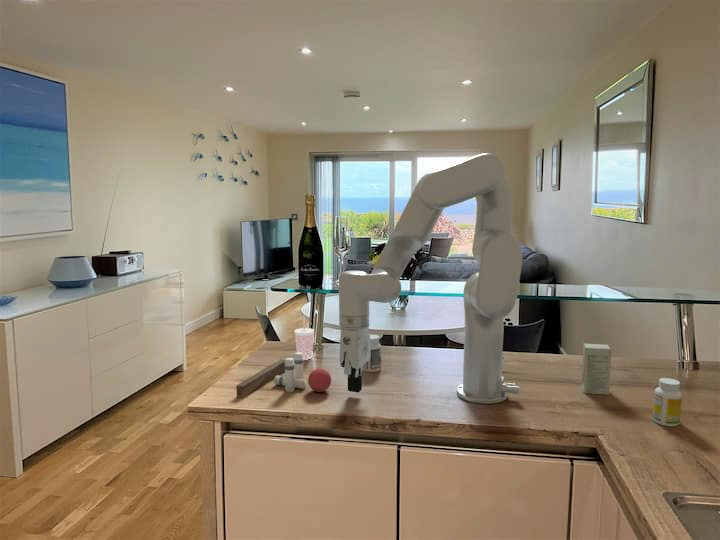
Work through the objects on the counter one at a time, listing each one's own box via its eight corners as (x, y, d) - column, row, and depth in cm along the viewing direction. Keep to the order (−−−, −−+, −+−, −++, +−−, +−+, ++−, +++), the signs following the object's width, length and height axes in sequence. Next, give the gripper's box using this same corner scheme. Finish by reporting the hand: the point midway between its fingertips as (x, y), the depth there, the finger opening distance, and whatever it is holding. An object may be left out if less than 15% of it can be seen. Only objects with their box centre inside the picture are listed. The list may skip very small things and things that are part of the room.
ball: (310, 374, 139) (325, 391, 138) (299, 382, 133) (315, 400, 132) (323, 360, 136) (339, 377, 136) (313, 368, 131) (329, 386, 130)
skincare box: (606, 389, 135) (609, 344, 134) (609, 395, 131) (612, 349, 129) (580, 386, 137) (582, 342, 135) (582, 393, 133) (585, 347, 131)
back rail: (286, 370, 151) (286, 360, 151) (243, 397, 131) (242, 386, 130) (280, 369, 152) (280, 359, 151) (236, 396, 132) (236, 385, 131)
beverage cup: (292, 360, 159) (291, 316, 157) (299, 354, 165) (298, 312, 163) (310, 362, 158) (310, 317, 156) (317, 356, 164) (316, 313, 162)
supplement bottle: (649, 422, 116) (652, 381, 115) (655, 414, 120) (658, 375, 119) (676, 429, 113) (680, 387, 111) (682, 421, 116) (686, 380, 115)
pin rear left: (296, 389, 136) (295, 358, 135) (292, 392, 134) (291, 361, 133) (288, 388, 137) (287, 357, 136) (283, 391, 135) (282, 360, 133)
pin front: (306, 378, 138) (278, 374, 141) (302, 380, 135) (274, 376, 138) (306, 387, 138) (278, 383, 141) (302, 390, 136) (273, 385, 139)
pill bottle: (381, 366, 154) (381, 334, 152) (380, 373, 148) (380, 339, 147) (362, 365, 155) (362, 333, 153) (360, 372, 149) (360, 339, 147)
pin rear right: (305, 382, 141) (304, 352, 139) (301, 386, 138) (300, 355, 137) (297, 381, 142) (296, 351, 140) (292, 384, 139) (292, 354, 138)
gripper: (357, 329, 120) (357, 404, 123) (378, 315, 134) (378, 382, 137) (327, 326, 123) (328, 399, 126) (351, 312, 137) (352, 379, 139)
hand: (354, 390), depth 131 cm, fingers closed
